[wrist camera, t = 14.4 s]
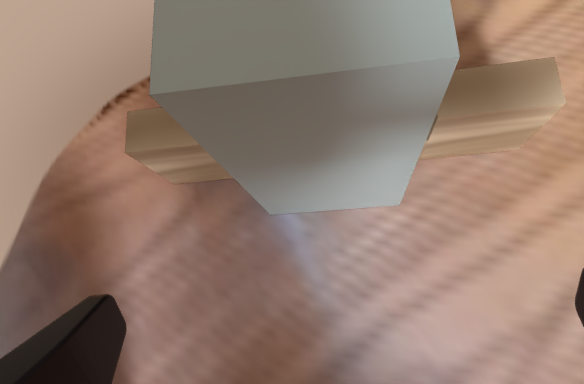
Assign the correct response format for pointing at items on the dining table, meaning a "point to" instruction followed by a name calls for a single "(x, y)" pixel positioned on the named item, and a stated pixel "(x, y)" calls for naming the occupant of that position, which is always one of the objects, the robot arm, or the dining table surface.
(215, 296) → the dining table surface
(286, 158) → the pale grey upright block
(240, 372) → the dining table surface
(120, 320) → the robot arm
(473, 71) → the slotted board
